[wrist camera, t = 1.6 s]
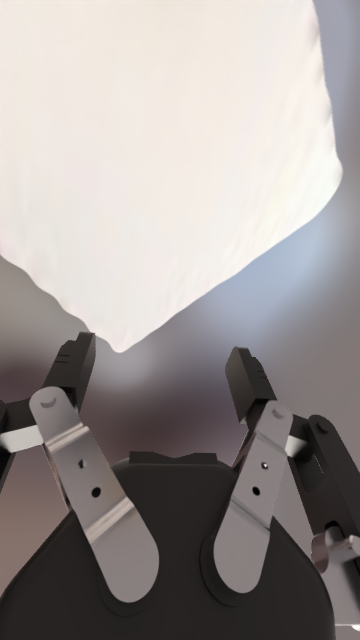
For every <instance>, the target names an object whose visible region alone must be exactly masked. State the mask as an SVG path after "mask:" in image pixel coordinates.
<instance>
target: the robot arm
mask: <svg viewBox="0 0 360 640" xmlns="http://www.w3.org/2000/svg"><path fill="white" fill-rule="evenodd" d="M95 352H96V350H95V333H90V332H89V333H88V332H80V333H79V335H78V338H77V340H76V341H72V340H68V341H67V342H66V343H65V344H64V345H62V346H61V348H60V350H59V352H58V355H57V357H56V359H55V361H54V363H53V365H52V367H51V369H50V372H49V374H48V376H47V378H46V380H45V382H44V384H43V386H42V388H41V389H40V390H39V391H37V392H36V393H35V394H34V395H33V396H32V397H30V398H28V399H25V400H22V401H18V402H12V403H7V404H5V403H4V402H3V401H2V400H0V493H1V490H2V488H3V485H4V482H5V480H6V477H7V475H8V472H9V470H10V467H11V465H12V462H13V459H14V457H15V454H16V452H17V451H19V450H22V449H26V448H30V447H33V446H36V445H40V444H41V445H42V447H43V450H44V452H45V454H46V457H47V459H48V462H49V464H50V467H51V469H52V471H53V474H54V476H55V479H56V482H57V485H58V487H59V490H60V492H61V495H62V497H63V500H64V502H65V505H66V507H67V509H68V512H69V513H68V515H67V516H66V517H65V518H64V519H63V520H62V521H61V523H60V524H59V525H58V527H56V529H55V530H54V531H53V532H52V533H51V534H50V536H49V537H48V538H47V539H46V540H45V542H44V543H43V544H42V545H41V546H40V548H39V549H38V550H37V551H36V552H35V553H34V554H33V556H32V557H31V558H30V559H29V560H28V562H27V563H26V564H25V565H24V566H23V567H22V569H21V570H20V571H19V572H18V574H17V575H16V576H15V577H14V578H13V579H12V581H11V582H10V584H9V585H8V586H7V588H6V589H5V591H4V592H3V594H2V596H1V598H0V640H336V636H335V626H338V625H339V626H340V625H341V626H345V625H346V626H347V625H348V626H349V625H351V626H352V627H353V628H354V629H356V630H357V631H360V473H359V471H358V469H357V467H356V465H355V463H354V462H353V460H352V458H351V456H350V454H349V453H348V451H347V449H346V447H345V445H344V443H343V442H342V440H341V438H340V436H339V434H338V433H337V431H336V429H335V427H334V426H333V424H332V423H331V422H330V421H329V420H327V419H326V418H324V417H322V416H320V415H311V416H310V417H309V418H308V419H305V418H302V417H299V416H297V415H294V414H292V413H291V411H290V409H289V408H288V407H287V406H286V405H284V404H283V403H281V402H279V401H277V399H276V396H275V394H274V392H273V390H272V387H271V385H270V383H269V381H268V379H267V376H266V374H265V373H264V369H263V367H262V365H261V363H260V362H259V361H258V360H257V359H256V358H255V357H252V356H251V354H250V352H249V349H248V348H243V347H234V348H233V350H232V352H231V355H230V357H229V359H228V362H227V364H226V369H225V370H226V371H225V372H226V377H227V380H228V384H229V387H230V391H231V395H232V398H233V402H234V405H235V409H236V412H237V416H238V420H239V423H240V424H247V426H248V429H249V430H248V432H247V434H246V436H245V439H244V441H243V443H242V445H241V447H240V450H239V452H238V454H237V457H236V459H235V461H234V462H233V464H232V466H231V467H229V466H228V465H226V464H225V463H223V462H221V461H218V460H217V457H216V453H193V454H190V455H186V456H183V457H179V458H170V457H167V456H164V455H161V454H157V453H154V452H133V451H130V454H129V458H127V459H123V460H121V461H119V462H117V463H115V464H113V465H112V466H109V464H108V462H107V461H106V459H105V457H104V455H103V453H102V452H101V450H100V448H99V446H98V444H97V443H96V441H95V439H94V437H93V436H92V434H91V432H90V430H89V429H88V427H87V426H84V425H83V424H82V423H81V421H80V419H79V414H80V411H81V407H82V404H83V400H84V397H85V393H86V390H87V386H88V383H89V379H90V376H91V373H92V369H93V365H94V361H95ZM316 458H317V460H318V462H317V460H316ZM287 459H288V462H289V465H290V468H291V471H292V474H293V477H294V480H295V483H296V486H297V489H298V492H299V494H300V497H301V500H302V503H303V506H304V509H305V512H306V515H307V517H308V521H309V524H310V526H311V529H312V532H313V535H314V537H313V539H312V542H311V550H312V554H311V560H312V561H311V560H310V559H309V558H308V556H307V555H306V554H305V553H304V552H303V551H302V549H301V548H300V547H299V546H298V545H297V543H296V542H295V541H294V540H293V539H292V537H291V536H290V535H289V534H288V533H287V532H286V531H285V529H284V528H283V527H282V526H281V524H280V523H279V522H278V521H277V520H276V519H275V517H274V516H273V511H274V507H275V503H276V499H277V495H278V491H279V487H280V484H281V480H282V476H283V472H284V468H285V464H286V460H287ZM318 463H319V464H318ZM319 465H320V466H319ZM320 467H321V469H320ZM321 470H322V471H321ZM322 472H323V473H322Z"/></svg>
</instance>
